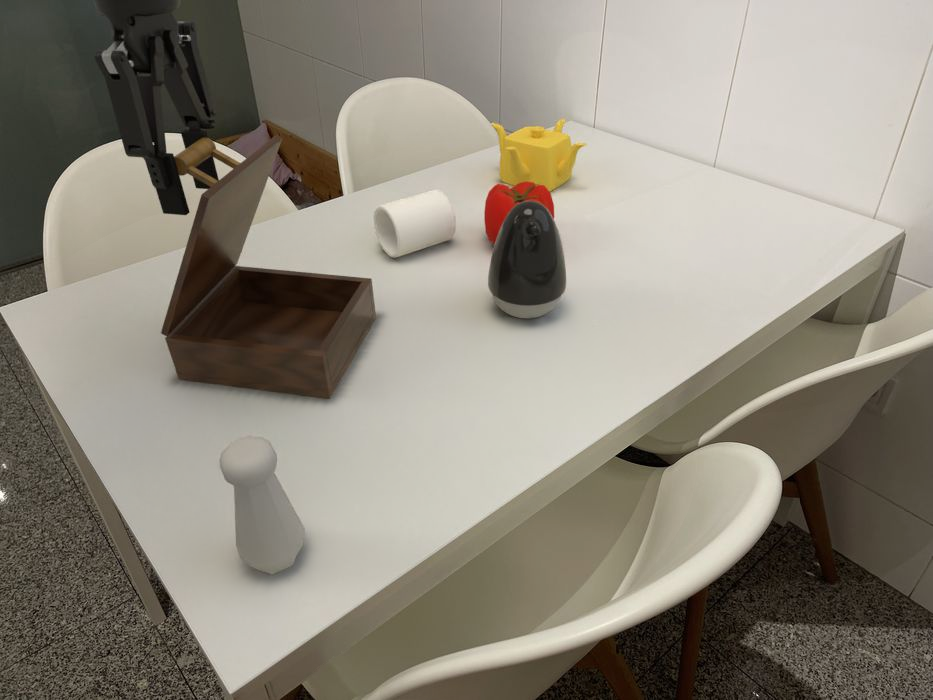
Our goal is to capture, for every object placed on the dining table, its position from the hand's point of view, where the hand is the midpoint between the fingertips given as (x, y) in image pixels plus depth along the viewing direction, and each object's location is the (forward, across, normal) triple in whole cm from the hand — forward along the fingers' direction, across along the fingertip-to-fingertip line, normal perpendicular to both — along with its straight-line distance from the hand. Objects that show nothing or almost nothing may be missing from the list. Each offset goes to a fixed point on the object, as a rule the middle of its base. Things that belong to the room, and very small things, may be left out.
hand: (192, 199), depth 77 cm
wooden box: (+19, 0, -7) cm, 21 cm away
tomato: (+20, +33, -32) cm, 50 cm away
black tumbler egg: (+20, +14, -36) cm, 43 cm away
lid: (+4, 0, -3) cm, 5 cm away
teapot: (+20, +58, -31) cm, 69 cm away
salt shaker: (+19, -30, -20) cm, 41 cm away
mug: (+20, +30, -15) cm, 39 cm away
